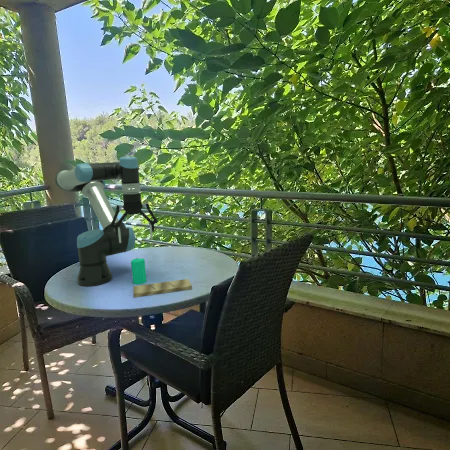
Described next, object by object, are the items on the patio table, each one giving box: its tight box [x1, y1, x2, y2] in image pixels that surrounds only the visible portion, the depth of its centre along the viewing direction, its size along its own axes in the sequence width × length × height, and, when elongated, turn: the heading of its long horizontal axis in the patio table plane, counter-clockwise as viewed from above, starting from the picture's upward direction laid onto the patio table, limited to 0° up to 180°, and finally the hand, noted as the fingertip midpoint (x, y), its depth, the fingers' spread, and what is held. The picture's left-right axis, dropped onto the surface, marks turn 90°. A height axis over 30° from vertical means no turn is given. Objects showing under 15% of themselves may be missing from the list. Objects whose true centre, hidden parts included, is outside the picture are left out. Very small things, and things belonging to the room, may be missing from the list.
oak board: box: [132, 278, 193, 298], centre depth 144 cm, size 24×9×2 cm, turn 106°
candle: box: [130, 256, 148, 285], centre depth 153 cm, size 6×6×12 cm
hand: (136, 240), depth 150 cm, fingers open, 13 cm apart
